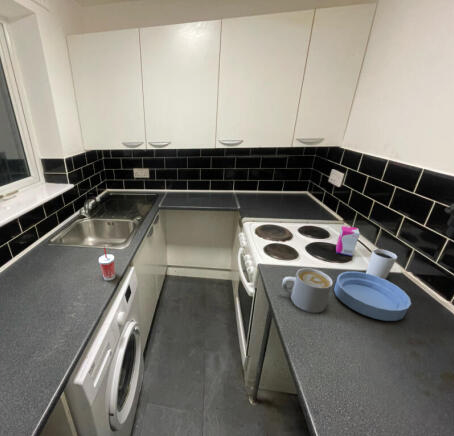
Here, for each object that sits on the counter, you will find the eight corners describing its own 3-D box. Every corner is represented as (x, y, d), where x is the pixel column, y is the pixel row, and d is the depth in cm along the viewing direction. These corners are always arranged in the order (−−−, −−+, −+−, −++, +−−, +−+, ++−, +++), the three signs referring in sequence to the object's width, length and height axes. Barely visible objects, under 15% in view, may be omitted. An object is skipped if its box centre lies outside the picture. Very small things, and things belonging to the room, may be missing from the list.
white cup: (378, 270, 90) (387, 249, 86) (392, 282, 84) (402, 259, 80) (360, 270, 91) (368, 248, 87) (372, 281, 85) (381, 258, 81)
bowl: (387, 288, 81) (392, 277, 79) (418, 329, 66) (425, 317, 64) (327, 278, 88) (331, 267, 86) (342, 314, 72) (346, 301, 70)
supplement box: (350, 250, 104) (358, 227, 99) (352, 256, 100) (360, 233, 95) (335, 247, 107) (342, 225, 102) (335, 253, 102) (343, 230, 98)
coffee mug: (325, 297, 79) (333, 274, 75) (324, 317, 71) (332, 292, 67) (282, 284, 86) (287, 261, 82) (277, 300, 78) (282, 277, 74)
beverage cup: (117, 279, 92) (113, 250, 86) (102, 283, 90) (96, 253, 85) (116, 271, 97) (111, 242, 92) (101, 274, 96) (96, 245, 90)
